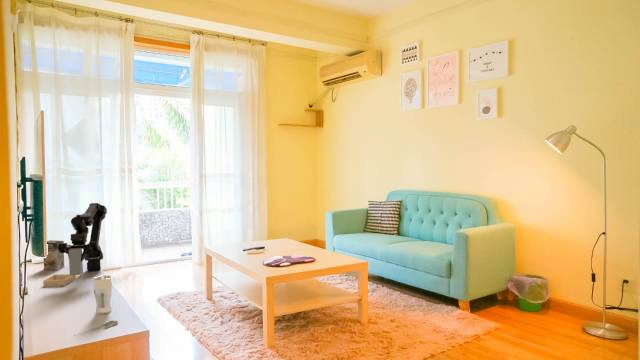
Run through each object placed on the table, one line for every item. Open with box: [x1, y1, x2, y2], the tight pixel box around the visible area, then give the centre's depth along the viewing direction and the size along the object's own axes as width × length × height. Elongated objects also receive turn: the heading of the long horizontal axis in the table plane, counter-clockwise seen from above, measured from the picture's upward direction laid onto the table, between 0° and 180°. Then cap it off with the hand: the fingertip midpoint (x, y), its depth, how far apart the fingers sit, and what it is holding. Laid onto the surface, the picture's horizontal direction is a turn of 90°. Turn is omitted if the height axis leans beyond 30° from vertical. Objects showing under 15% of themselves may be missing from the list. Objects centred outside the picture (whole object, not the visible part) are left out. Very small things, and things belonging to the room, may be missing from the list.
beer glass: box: [93, 275, 113, 315], centre depth 187 cm, size 7×7×15 cm
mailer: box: [42, 273, 81, 287], centre depth 231 cm, size 11×17×3 cm, turn 4°
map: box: [73, 320, 118, 337], centre depth 167 cm, size 5×20×1 cm, turn 150°
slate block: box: [68, 248, 84, 276], centre depth 222 cm, size 5×4×13 cm
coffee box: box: [42, 239, 65, 271], centre depth 256 cm, size 9×6×16 cm
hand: (75, 261), depth 221 cm, fingers closed on slate block, 5 cm apart
